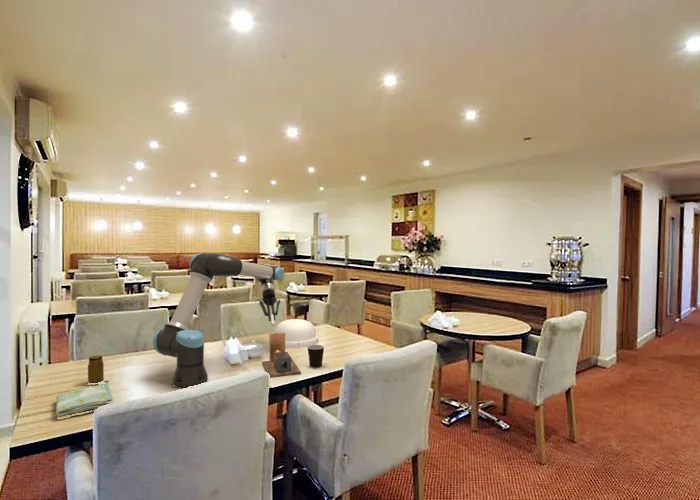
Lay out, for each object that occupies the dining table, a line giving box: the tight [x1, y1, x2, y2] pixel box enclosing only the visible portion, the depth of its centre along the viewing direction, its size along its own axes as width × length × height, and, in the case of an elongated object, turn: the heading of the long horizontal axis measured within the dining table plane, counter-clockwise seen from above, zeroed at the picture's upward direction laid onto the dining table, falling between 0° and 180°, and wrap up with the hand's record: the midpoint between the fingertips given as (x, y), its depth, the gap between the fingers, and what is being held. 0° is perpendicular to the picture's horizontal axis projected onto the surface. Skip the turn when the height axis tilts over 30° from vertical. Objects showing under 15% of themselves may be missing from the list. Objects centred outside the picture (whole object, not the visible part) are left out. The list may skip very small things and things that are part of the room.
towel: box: [55, 382, 113, 417], centre depth 158 cm, size 18×21×5 cm
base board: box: [261, 358, 302, 379], centre depth 204 cm, size 16×22×1 cm
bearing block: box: [274, 351, 292, 373], centre depth 200 cm, size 7×10×7 cm
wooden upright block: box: [268, 333, 286, 364], centre depth 207 cm, size 8×16×14 cm, turn 20°
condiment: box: [87, 355, 105, 383], centre depth 182 cm, size 7×8×12 cm
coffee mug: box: [307, 344, 325, 369], centre depth 210 cm, size 12×9×10 cm
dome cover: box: [274, 318, 319, 349], centre depth 256 cm, size 32×30×14 cm
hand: (272, 325), depth 228 cm, fingers closed
